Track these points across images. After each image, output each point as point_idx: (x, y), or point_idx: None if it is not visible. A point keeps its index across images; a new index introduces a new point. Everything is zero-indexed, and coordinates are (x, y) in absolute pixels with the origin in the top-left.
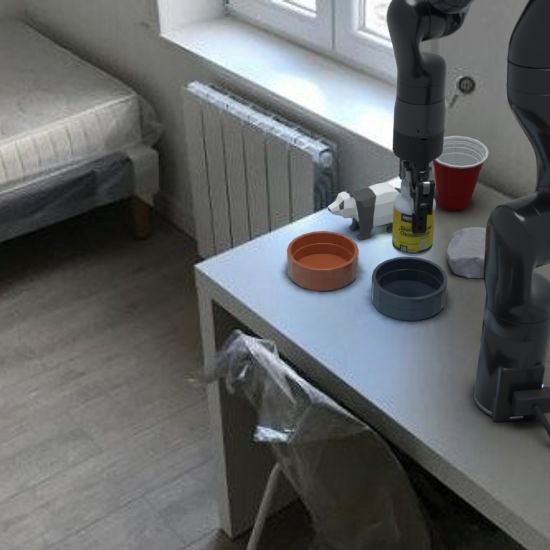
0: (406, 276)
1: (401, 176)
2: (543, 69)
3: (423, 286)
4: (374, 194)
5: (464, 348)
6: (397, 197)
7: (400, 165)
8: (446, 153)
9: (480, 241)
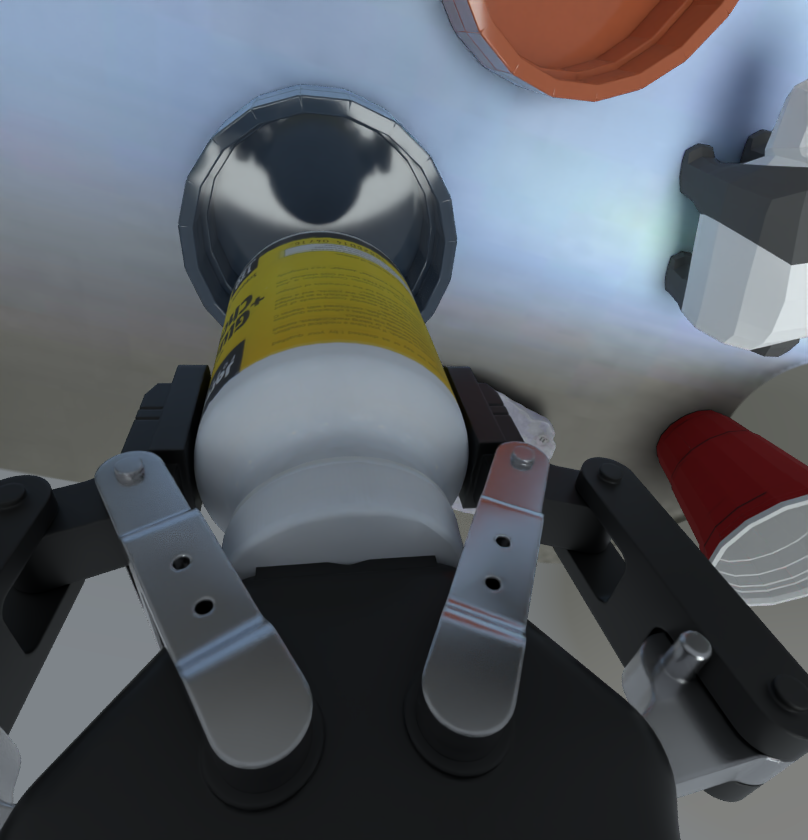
0: (421, 249)
1: (496, 523)
2: None
3: None
4: (804, 260)
5: (64, 321)
6: (369, 398)
7: (655, 540)
8: None
9: None
